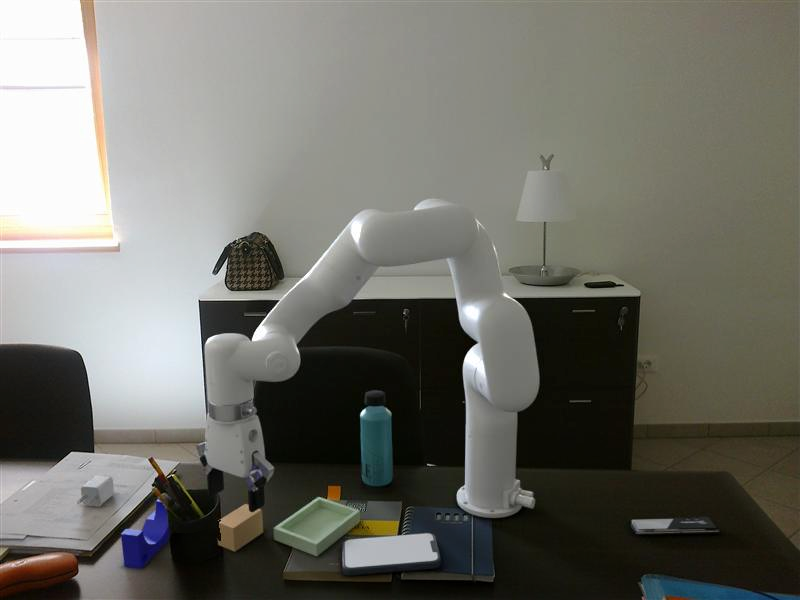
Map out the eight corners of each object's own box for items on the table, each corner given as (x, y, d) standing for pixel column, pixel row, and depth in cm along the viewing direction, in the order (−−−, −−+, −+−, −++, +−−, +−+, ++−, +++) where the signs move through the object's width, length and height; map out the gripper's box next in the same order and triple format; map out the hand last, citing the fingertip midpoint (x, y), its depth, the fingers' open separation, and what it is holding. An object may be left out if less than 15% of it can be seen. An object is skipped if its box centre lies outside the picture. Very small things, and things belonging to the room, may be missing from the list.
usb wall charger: (114, 495, 134) (112, 476, 133) (93, 513, 128) (90, 494, 127) (96, 493, 135) (94, 475, 134) (74, 512, 128) (71, 492, 127)
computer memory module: (636, 531, 118) (628, 518, 122) (636, 536, 118) (628, 523, 122) (720, 529, 119) (709, 516, 122) (719, 534, 119) (709, 521, 123)
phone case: (342, 578, 108) (442, 570, 110) (342, 569, 108) (442, 561, 109) (342, 547, 117) (434, 539, 118) (341, 538, 116) (434, 531, 118)
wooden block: (263, 532, 121) (262, 509, 120) (234, 552, 115) (233, 528, 114) (247, 526, 123) (245, 503, 122) (218, 545, 117) (216, 521, 116)
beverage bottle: (399, 483, 138) (398, 390, 134) (381, 497, 133) (379, 401, 128) (373, 475, 141) (371, 384, 137) (354, 488, 136) (351, 394, 132)
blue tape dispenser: (155, 526, 123) (152, 496, 122) (178, 528, 122) (175, 498, 121) (116, 565, 112) (112, 532, 110) (141, 568, 111) (137, 535, 110)
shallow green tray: (360, 521, 124) (360, 510, 124) (316, 556, 114) (316, 544, 113) (319, 507, 129) (318, 496, 129) (273, 539, 119) (273, 528, 118)
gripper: (285, 411, 112) (288, 505, 116) (211, 391, 121) (217, 479, 125) (253, 426, 106) (257, 525, 110) (178, 404, 115) (184, 496, 119)
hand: (236, 500), depth 117 cm, fingers open, 9 cm apart
